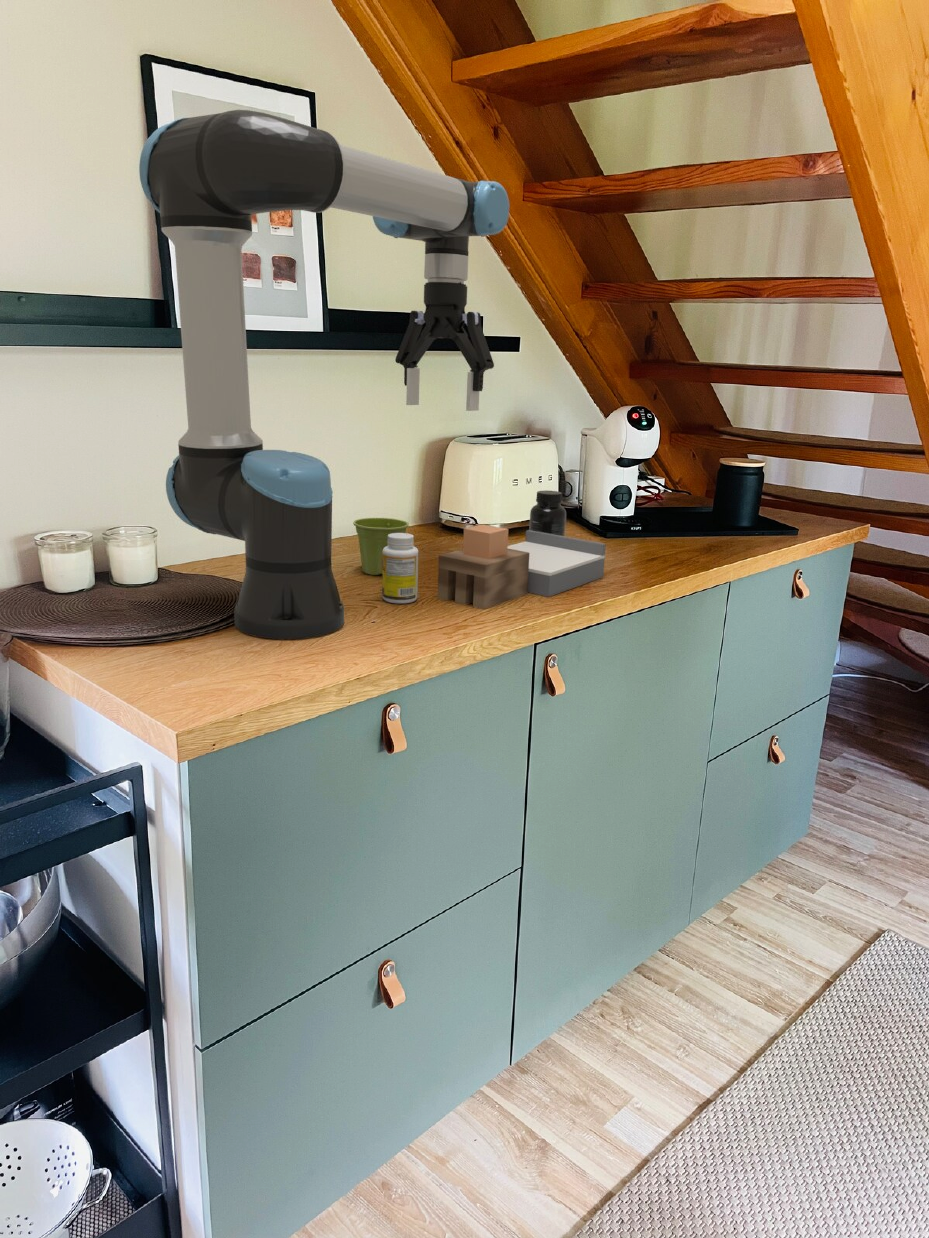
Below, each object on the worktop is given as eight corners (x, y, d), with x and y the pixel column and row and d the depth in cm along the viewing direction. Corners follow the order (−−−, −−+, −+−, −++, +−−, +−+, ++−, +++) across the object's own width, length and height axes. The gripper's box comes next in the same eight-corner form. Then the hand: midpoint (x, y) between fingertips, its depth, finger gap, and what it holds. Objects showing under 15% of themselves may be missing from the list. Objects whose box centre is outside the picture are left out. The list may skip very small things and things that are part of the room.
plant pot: (374, 562, 165) (374, 515, 162) (418, 570, 160) (419, 522, 158) (342, 572, 157) (342, 522, 154) (386, 581, 152) (387, 530, 150)
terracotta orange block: (488, 559, 141) (489, 533, 140) (462, 553, 144) (463, 528, 142) (507, 554, 145) (508, 529, 143) (481, 548, 147) (482, 524, 146)
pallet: (483, 609, 139) (485, 565, 137) (437, 598, 144) (438, 555, 142) (526, 594, 148) (529, 552, 146) (482, 584, 153) (484, 543, 151)
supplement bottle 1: (392, 593, 146) (393, 530, 143) (423, 598, 144) (425, 534, 141) (375, 601, 141) (375, 536, 138) (407, 606, 139) (408, 540, 136)
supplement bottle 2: (521, 551, 178) (524, 490, 174) (550, 549, 181) (554, 488, 177) (540, 559, 172) (544, 496, 169) (570, 556, 175) (574, 494, 172)
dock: (548, 597, 147) (551, 560, 145) (469, 579, 156) (470, 544, 154) (603, 577, 161) (605, 543, 159) (527, 561, 170) (529, 530, 168)
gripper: (518, 283, 154) (511, 412, 160) (404, 284, 168) (402, 402, 174) (492, 280, 148) (486, 413, 154) (377, 280, 162) (375, 403, 168)
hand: (441, 407), depth 164 cm, fingers open, 13 cm apart
